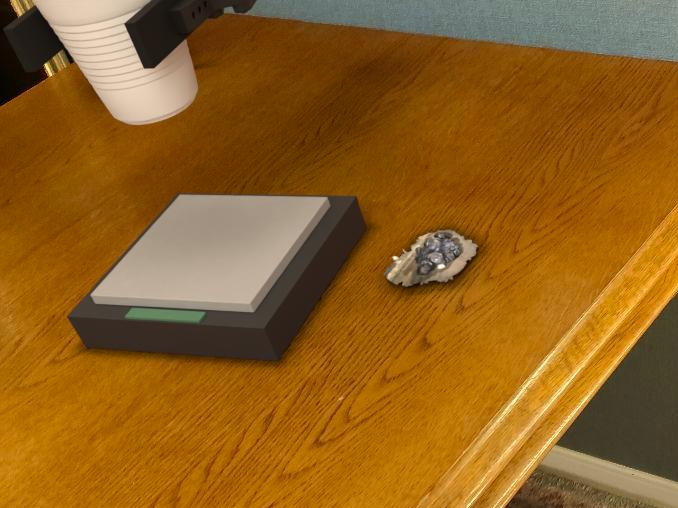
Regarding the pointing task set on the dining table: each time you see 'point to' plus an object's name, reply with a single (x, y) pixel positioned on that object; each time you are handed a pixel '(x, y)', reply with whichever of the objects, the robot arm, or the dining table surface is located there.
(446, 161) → the dining table surface
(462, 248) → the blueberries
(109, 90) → the cup
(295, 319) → the scale
